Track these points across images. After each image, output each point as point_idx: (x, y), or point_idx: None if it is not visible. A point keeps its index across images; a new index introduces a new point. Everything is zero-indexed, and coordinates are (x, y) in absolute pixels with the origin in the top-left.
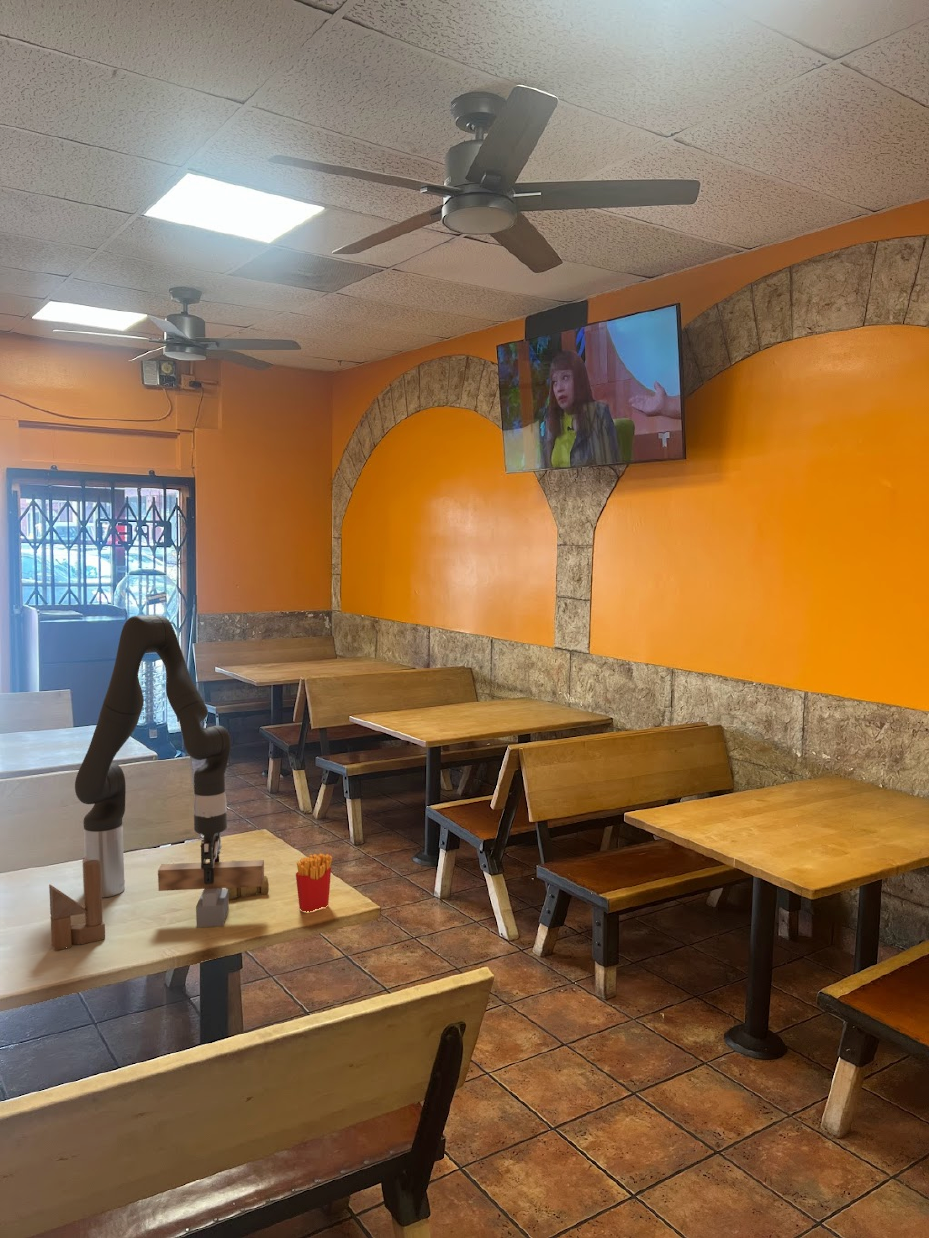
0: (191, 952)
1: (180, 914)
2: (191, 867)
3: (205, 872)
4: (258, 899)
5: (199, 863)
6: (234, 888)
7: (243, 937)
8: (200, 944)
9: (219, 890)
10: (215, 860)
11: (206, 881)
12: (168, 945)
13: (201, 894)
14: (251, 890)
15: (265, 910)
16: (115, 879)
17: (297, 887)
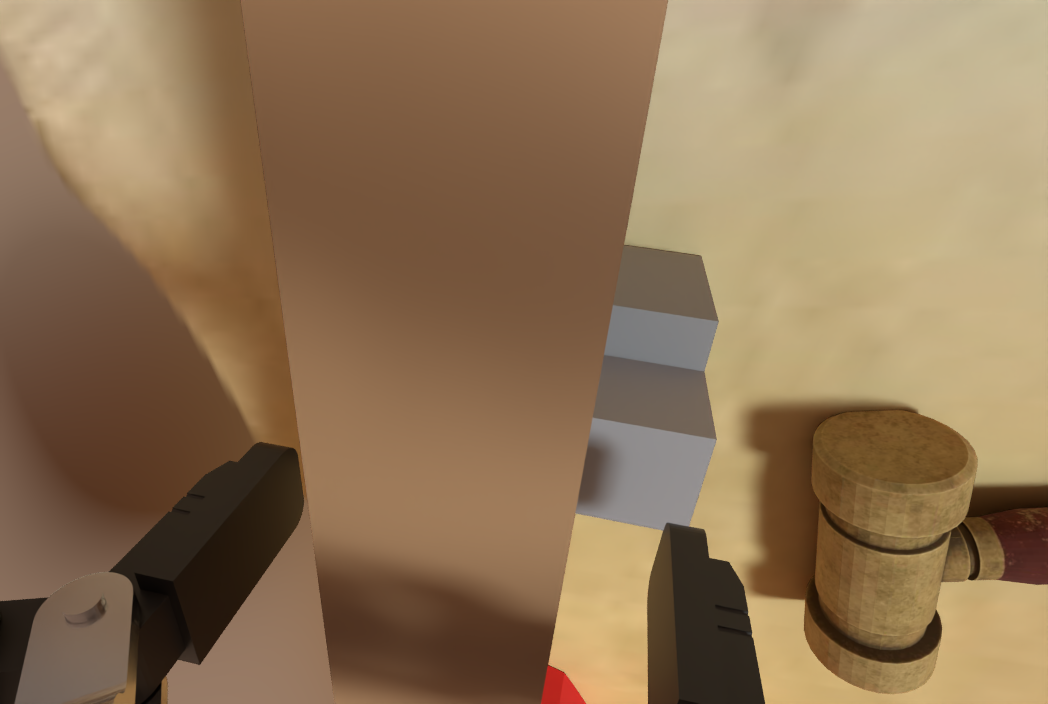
0: (83, 195)
1: (672, 77)
2: (358, 407)
3: (130, 556)
4: (749, 551)
5: (529, 520)
6: (832, 499)
7: (272, 439)
8: (181, 242)
9: None
10: (658, 678)
11: (216, 479)
12: (146, 37)
13: (613, 306)
14: (817, 562)
15: (578, 557)
16: None
17: None
